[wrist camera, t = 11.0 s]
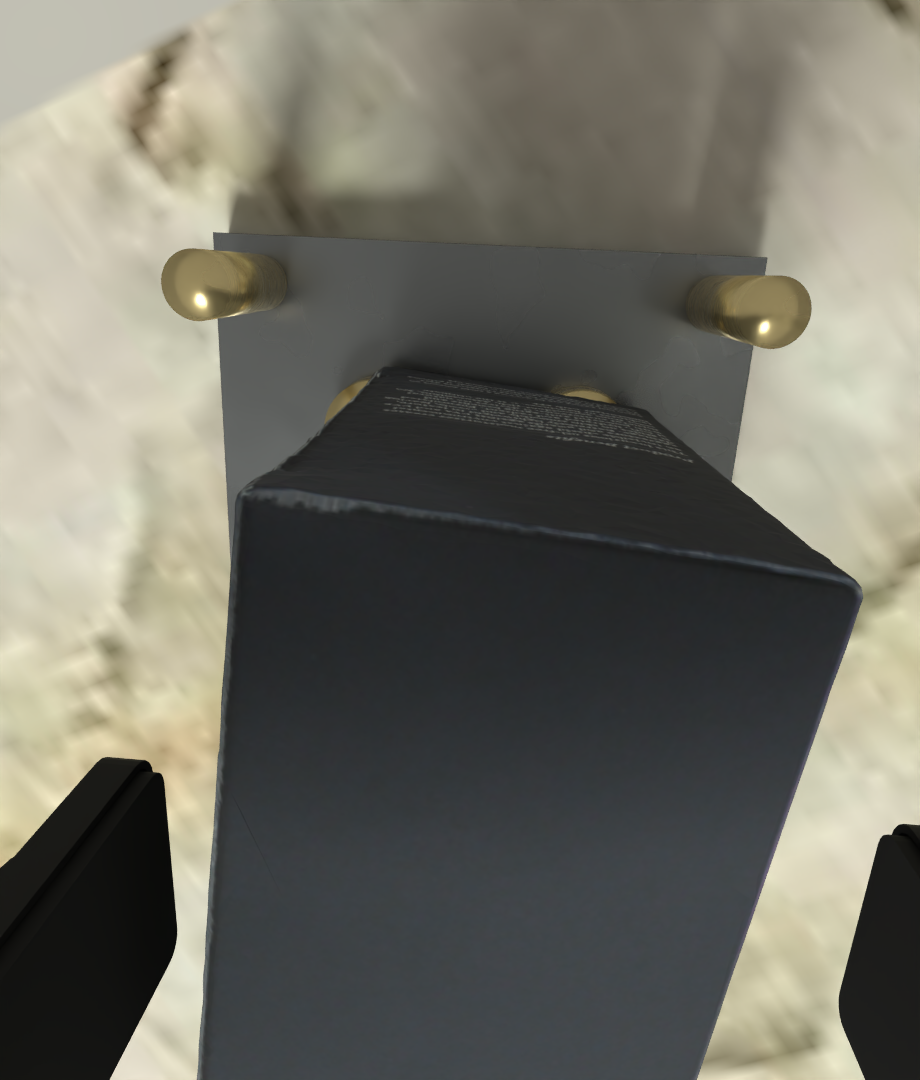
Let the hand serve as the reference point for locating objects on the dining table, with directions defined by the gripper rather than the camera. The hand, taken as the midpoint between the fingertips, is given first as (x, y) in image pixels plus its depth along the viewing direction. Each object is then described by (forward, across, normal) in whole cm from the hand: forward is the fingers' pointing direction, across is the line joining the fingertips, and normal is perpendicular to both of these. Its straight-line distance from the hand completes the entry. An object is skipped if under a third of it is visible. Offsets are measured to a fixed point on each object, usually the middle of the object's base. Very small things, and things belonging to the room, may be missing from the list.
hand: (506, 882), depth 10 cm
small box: (+9, +1, 0) cm, 9 cm away
